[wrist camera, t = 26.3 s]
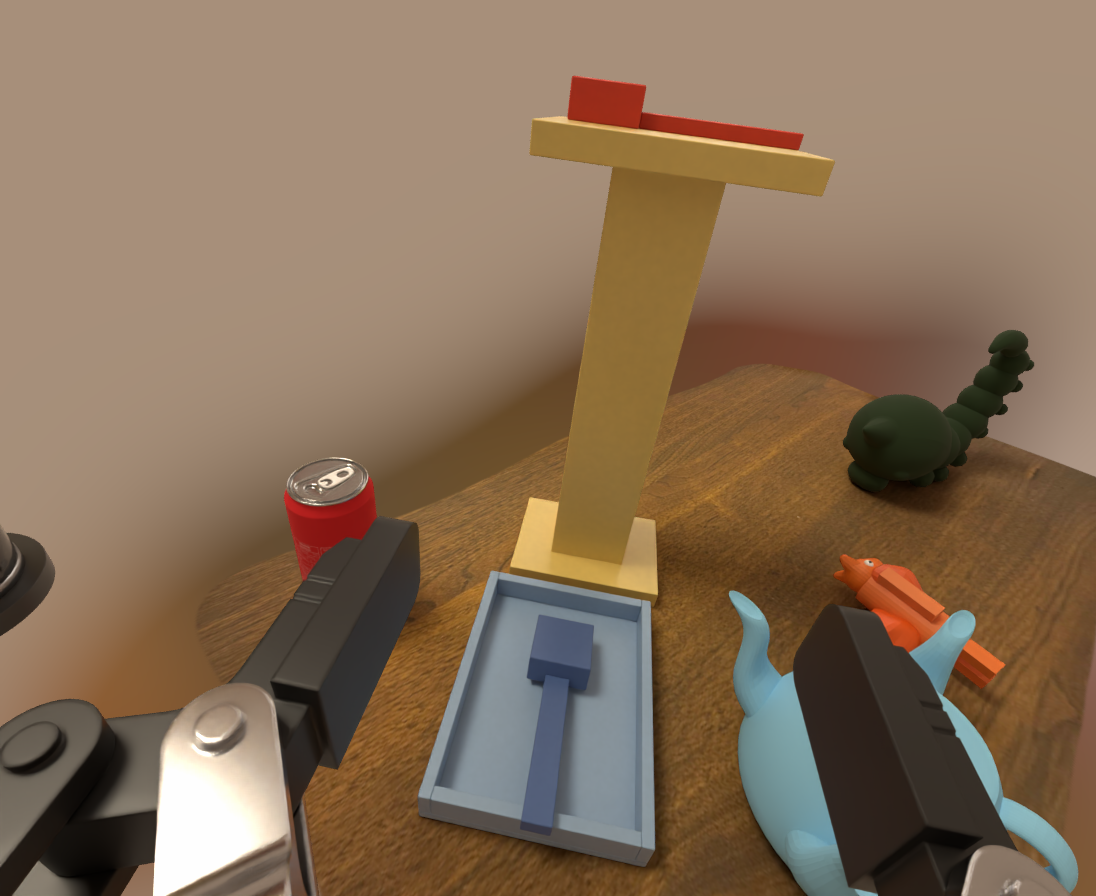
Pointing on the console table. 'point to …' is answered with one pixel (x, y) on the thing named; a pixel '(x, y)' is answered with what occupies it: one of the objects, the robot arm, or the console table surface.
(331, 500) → the beverage can
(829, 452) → the console table surface
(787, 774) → the teapot
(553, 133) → the stand
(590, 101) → the red toy mallet
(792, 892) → the console table surface
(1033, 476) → the console table surface
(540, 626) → the blue toy mallet
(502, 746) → the blue tray
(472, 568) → the console table surface
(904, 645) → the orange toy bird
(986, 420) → the green caterpillar figure
